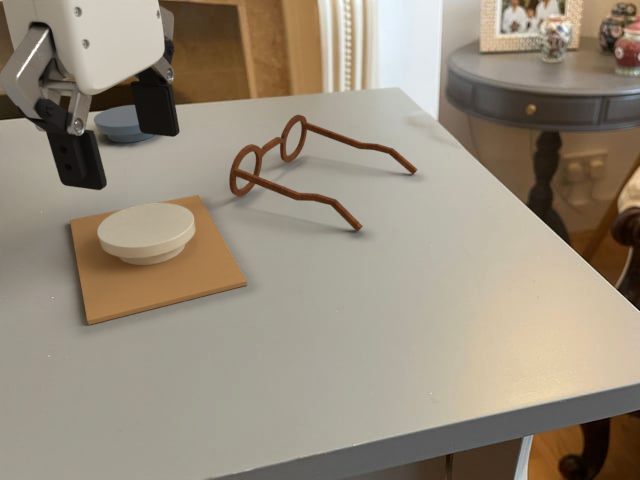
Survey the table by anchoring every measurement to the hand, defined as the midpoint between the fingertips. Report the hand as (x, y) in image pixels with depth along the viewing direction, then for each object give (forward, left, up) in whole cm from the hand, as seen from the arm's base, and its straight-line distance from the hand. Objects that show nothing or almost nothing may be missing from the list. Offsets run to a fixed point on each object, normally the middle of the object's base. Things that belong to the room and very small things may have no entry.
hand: (125, 157), depth 48 cm
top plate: (+1, 0, -8) cm, 8 cm away
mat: (0, 0, -8) cm, 8 cm away
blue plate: (-16, +23, -8) cm, 29 cm away
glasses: (+10, +14, -8) cm, 19 cm away
